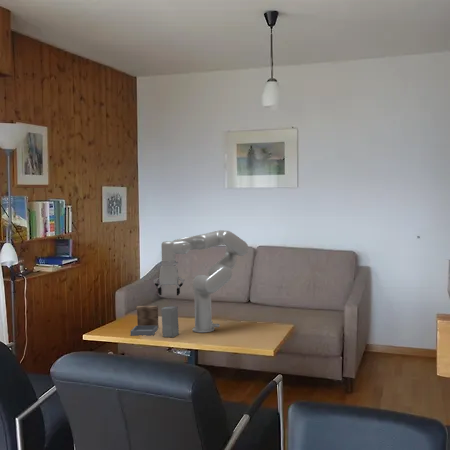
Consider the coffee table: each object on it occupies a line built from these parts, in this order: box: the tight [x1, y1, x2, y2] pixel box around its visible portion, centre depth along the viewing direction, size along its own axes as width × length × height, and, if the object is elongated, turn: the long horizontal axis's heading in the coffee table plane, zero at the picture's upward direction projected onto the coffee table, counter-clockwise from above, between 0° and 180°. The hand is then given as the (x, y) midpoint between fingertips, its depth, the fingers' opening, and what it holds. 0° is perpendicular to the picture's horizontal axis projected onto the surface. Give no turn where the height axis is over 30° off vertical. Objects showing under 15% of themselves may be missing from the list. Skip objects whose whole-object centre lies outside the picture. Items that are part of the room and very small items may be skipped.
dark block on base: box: [135, 305, 159, 329], centre depth 316 cm, size 12×4×13 cm, turn 86°
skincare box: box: [161, 305, 180, 338], centre depth 299 cm, size 8×7×16 cm
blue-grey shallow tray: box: [130, 325, 159, 337], centre depth 307 cm, size 13×14×2 cm
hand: (169, 295), depth 298 cm, fingers open, 9 cm apart
